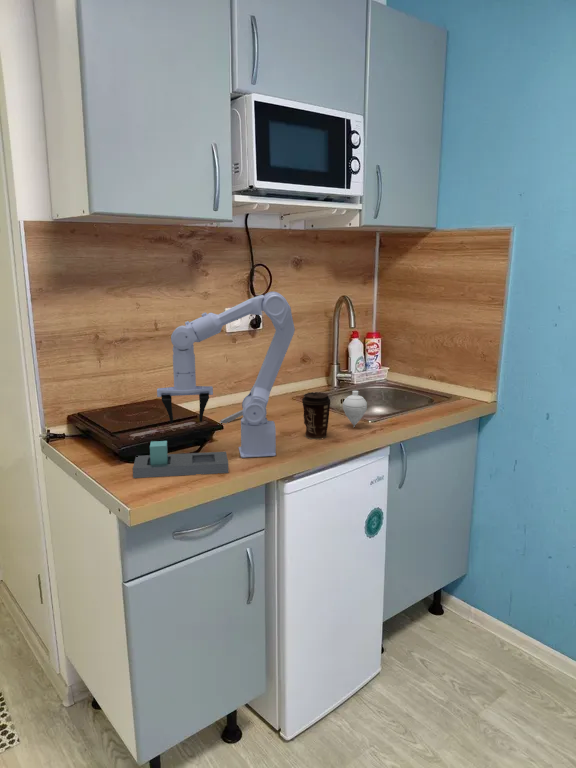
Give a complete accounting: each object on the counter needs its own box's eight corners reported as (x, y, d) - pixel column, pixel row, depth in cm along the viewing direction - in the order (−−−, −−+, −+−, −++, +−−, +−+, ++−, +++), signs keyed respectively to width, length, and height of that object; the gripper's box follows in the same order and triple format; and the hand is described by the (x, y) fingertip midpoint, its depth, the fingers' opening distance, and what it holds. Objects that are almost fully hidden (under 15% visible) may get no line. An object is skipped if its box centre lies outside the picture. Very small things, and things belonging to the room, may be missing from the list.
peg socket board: (226, 460, 149) (226, 451, 148) (228, 472, 140) (228, 463, 140) (136, 465, 145) (136, 455, 145) (133, 478, 136) (132, 468, 136)
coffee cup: (307, 430, 175) (308, 390, 173) (333, 433, 172) (334, 392, 170) (297, 438, 167) (298, 396, 165) (324, 442, 164) (325, 399, 162)
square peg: (168, 466, 144) (167, 440, 143) (167, 472, 140) (166, 445, 139) (152, 467, 143) (150, 441, 142) (151, 473, 140) (149, 446, 138)
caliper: (263, 413, 196) (263, 395, 195) (265, 413, 195) (265, 396, 194) (217, 425, 182) (217, 406, 180) (219, 425, 181) (219, 406, 180)
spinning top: (338, 429, 177) (339, 392, 175) (346, 423, 184) (348, 387, 181) (361, 432, 174) (363, 394, 171) (369, 426, 181) (371, 389, 178)
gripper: (211, 368, 154) (212, 416, 156) (156, 369, 151) (159, 418, 154) (212, 373, 147) (214, 423, 150) (155, 375, 144) (158, 426, 147)
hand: (186, 421), depth 151 cm, fingers open, 7 cm apart
